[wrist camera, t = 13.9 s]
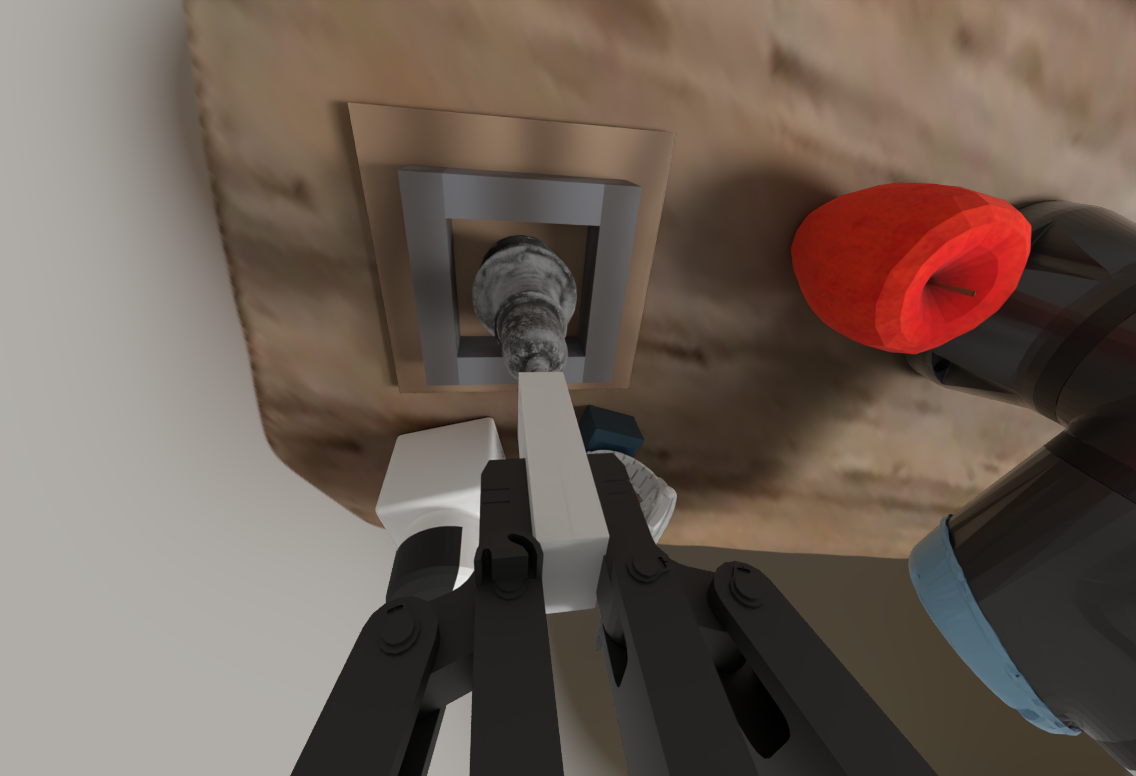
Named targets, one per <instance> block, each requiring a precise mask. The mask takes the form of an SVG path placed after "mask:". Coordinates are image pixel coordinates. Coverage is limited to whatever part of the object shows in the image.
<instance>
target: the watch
mask: <svg viewBox="0 0 1136 776" xmlns="http://www.w3.org/2000/svg"><path fill="white" fill-rule="evenodd" d="M578 426H579V430H580V434H581V437H582V441H583V444H584V448H585V451H586V454H596V453H614V454H615V455H616V457H617V458H618V459H619V460H620V461H621V462H622V463H623V464H624V465H625V467H626V470H627V473H628V475H629V478H630V482H631V483H632V485H633V488H634V490H635V491H636V492H637V493H638V494H640V497H641V498H642V500H643V501H642V502H641V503H640V506H641V509H642V512H643V514H644V517H645V519H646V522H647V525H648V527H649V530H650V533H651V535H652V538H653V540H654V542H655V544H657V542H658V540H659V539H660V537H661V536H662V534H663V532H664V531H665V529H666V527H667V525H668V523H669V521H670V518H671V516H672V514H673V511H674V508H675V504H676V499H677V494H676V492H675V490H674V489H673V488H672V487H669V486H668V485H667V484H666V482H665V481H664V480H663V479H662V478H660V477H659V478H658V477H657V476H656V475H654V473H653V472H652V471H651V470H650V469H649V468H647V467H645V465H644V464H642V463H641V462H639V461H637V460H635V459H634V456H635V454H636V453H637V451H638V450H639V448H640V447H641V445H642V444H643V442H644V441H645V440H644V438H643V436H642V434H641V432H640V430H639V428H638V425H637V423H636V421H635V419H634V417H632V416H629V415H625V414H621V413H618V412H614V411H610V410H606V409H603V408H599V407H595V406H591V405H588V407H587V409H586V411H585V413H584V415H583V416H582V418H581V420H580V422H579V424H578ZM633 462H634V463H633ZM644 467H645V468H644ZM637 470H638V471H637ZM635 473H636V474H635ZM633 476H634V477H633ZM646 478H647V479H646ZM644 481H645V482H644ZM642 484H643V485H642Z"/></svg>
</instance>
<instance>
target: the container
mask: <svg viewBox="0 0 1136 776" xmlns="http://www.w3.org/2000/svg"><path fill="white" fill-rule="evenodd" d="M500 459H506V458H505V455H504V452H503V449H502V445H501V442H500V439H499V436H498V432H497V429H496V426H495V423H494V420H493V419H492V418H491V417H487V418H483V419H478V420H473V421H468V422H463V423H458V424H453V425H448V426H443V427H438V428H433V429H428V430H423V431H418V432H413V433H408V434H403V435H400V436H399V437H398V438H397V440H396V443H395V447H394V450H393V453H392V457H391V460H390V463H389V466H388V470H387V473H386V476H385V479H384V483H383V486H382V489H381V492H380V496H379V499H378V502H377V505H376V514H377V516H378V517H379V519H380V520H381V522H382V523H383V525H384V527H385V528H386V530H387V531H388V532H389V534H390V536H391V538H392V539H393V541H394V542H395V544H396V546H397V551H396V555H395V560H394V564H393V568H392V573H391V577H390V581H389V586H388V590H387V594H386V603H387V602H390V601H392V600H395V599H397V598H399V597H411V596H415V597H417V598H420V599H423V600H426V601H427V602H429V601H431V600H433V599H436V598H438V597H440V596H443V595H445V594H447V593H449V592H451V591H453V590H455V589H457V588H458V587H460V586H461V585H462V584H463V583H464V582H465V581H467V580H468V578H469V577H470V576H471V574H472V573H473V571H474V557H475V553H476V549H477V548H478V546H479V521H480V493H481V490H480V489H481V473H482V471H483V470H484V468H485V466H486V465H487V463H488V461H489V460H500Z"/></svg>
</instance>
